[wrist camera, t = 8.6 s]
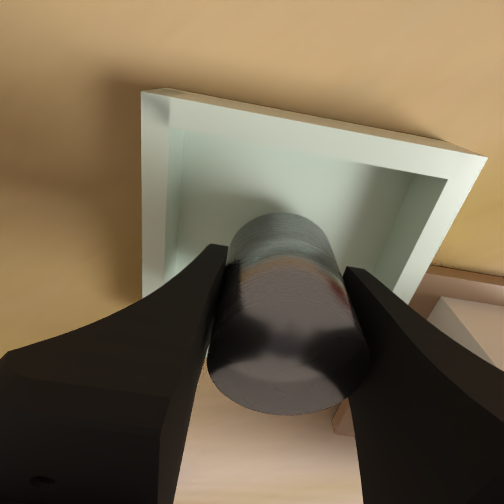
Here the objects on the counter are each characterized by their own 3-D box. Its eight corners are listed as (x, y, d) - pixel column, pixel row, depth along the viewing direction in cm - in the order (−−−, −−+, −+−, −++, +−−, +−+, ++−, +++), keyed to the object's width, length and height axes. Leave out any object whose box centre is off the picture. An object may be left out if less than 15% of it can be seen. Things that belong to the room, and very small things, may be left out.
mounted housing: (540, 283, 14) (748, 443, 8) (422, 433, 20) (491, 591, 14) (412, 262, 14) (529, 412, 8) (331, 421, 20) (361, 576, 14)
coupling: (345, 222, 11) (396, 319, 7) (316, 307, 13) (340, 424, 9) (235, 203, 11) (215, 291, 7) (221, 292, 13) (200, 404, 9)
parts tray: (444, 141, 11) (487, 157, 9) (353, 339, 16) (366, 380, 14) (165, 87, 11) (140, 90, 8) (159, 309, 16) (142, 348, 13)
